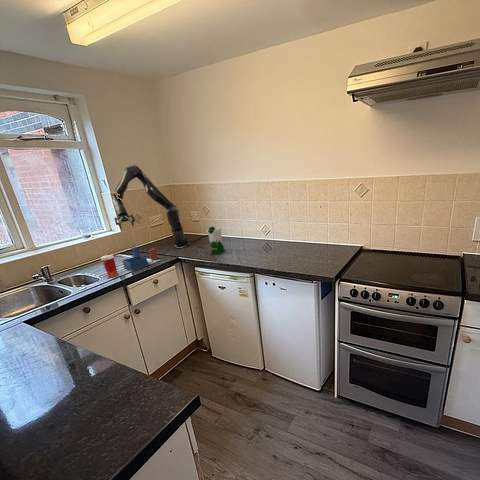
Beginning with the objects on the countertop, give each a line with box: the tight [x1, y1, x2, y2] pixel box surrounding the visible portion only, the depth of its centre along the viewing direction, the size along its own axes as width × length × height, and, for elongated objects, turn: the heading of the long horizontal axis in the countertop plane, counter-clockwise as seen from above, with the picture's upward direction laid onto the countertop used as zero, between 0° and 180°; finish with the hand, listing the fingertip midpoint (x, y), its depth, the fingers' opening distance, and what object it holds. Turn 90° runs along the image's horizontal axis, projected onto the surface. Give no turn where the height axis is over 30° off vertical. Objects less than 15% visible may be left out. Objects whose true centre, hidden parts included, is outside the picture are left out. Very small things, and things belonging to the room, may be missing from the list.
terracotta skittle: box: [149, 248, 158, 261], centre depth 224 cm, size 4×4×8 cm
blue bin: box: [122, 255, 149, 271], centre depth 213 cm, size 12×12×6 cm
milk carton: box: [206, 226, 226, 255], centre depth 220 cm, size 9×9×20 cm
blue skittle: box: [131, 246, 141, 257], centre depth 236 cm, size 4×4×8 cm
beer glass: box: [100, 254, 119, 278], centre depth 197 cm, size 8×8×14 cm
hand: (127, 226), depth 239 cm, fingers open, 8 cm apart
